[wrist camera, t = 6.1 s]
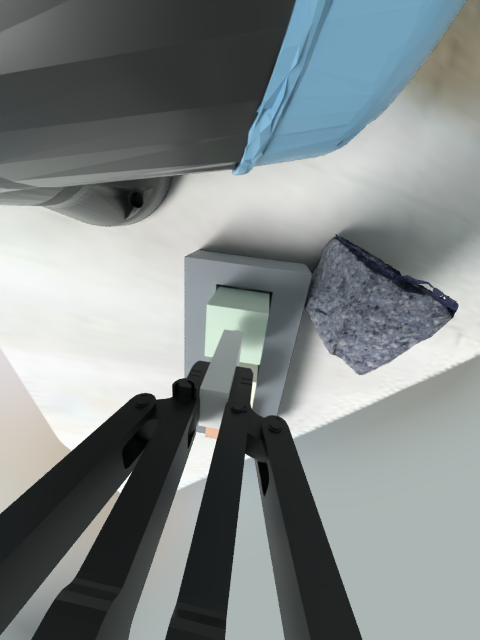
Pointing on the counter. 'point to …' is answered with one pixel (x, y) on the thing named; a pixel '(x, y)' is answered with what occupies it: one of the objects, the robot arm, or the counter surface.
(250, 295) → the tile one
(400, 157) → the counter surface
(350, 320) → the stone
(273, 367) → the key board
